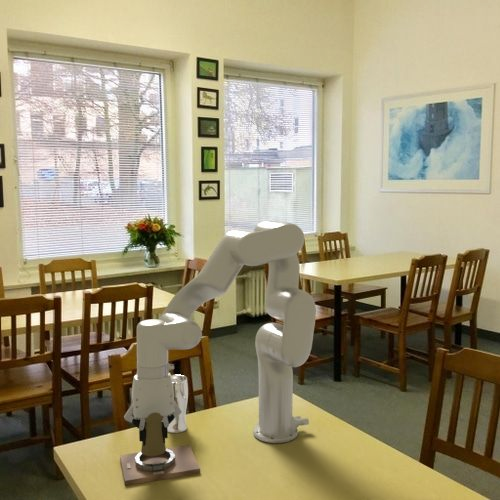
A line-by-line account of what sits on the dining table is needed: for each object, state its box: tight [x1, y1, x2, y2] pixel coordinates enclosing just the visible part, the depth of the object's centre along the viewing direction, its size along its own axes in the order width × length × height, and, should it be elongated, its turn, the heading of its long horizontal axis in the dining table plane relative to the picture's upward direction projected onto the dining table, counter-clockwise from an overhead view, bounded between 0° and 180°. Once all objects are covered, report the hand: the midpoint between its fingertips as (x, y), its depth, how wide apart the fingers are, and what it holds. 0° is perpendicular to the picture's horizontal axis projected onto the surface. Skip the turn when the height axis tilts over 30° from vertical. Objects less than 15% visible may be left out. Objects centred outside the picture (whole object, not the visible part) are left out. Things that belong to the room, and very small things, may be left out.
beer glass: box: [167, 374, 189, 434], centre depth 159 cm, size 7×7×15 cm
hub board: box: [119, 444, 201, 486], centre depth 138 cm, size 18×13×1 cm
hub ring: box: [135, 449, 175, 472], centre depth 138 cm, size 10×10×2 cm
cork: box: [140, 413, 167, 456], centre depth 137 cm, size 6×6×11 cm
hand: (153, 441), depth 137 cm, fingers closed on cork, 4 cm apart
